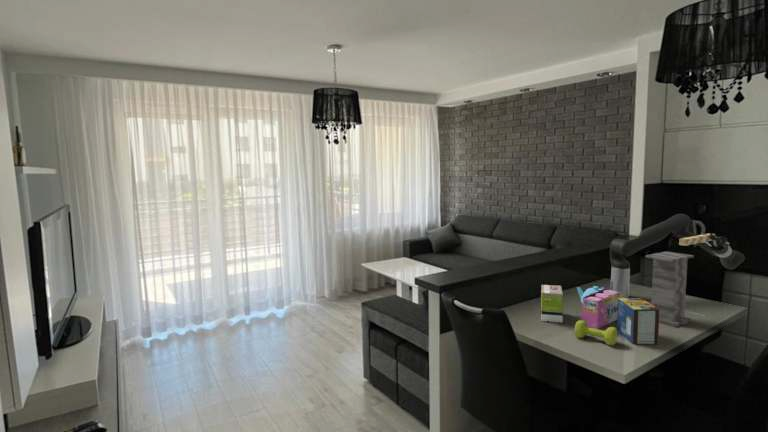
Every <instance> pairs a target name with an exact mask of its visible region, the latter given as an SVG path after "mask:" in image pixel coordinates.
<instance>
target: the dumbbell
mask: <svg viewBox="0 0 768 432" xmlns="http://www.w3.org/2000/svg"><path fill="white" fill-rule="evenodd" d="M573 330H574V335H575V337H576V338H578V339H583V338H585V337H586V335H589V336H593V337H597V338H602V339H604V341H605V343H606V345H608V346H612V347H613V346H615V345H616V344H617V342H618V336H619V332H618V331H617V327H614V326H610V327H607V328H606V329H605V330H601V329H596V328H592V327H588V326H587V324H586V322H585V321H582V319H579V320H577V321H576V322H575V325H574V329H573Z"/></svg>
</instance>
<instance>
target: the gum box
mask: <svg viewBox="0 0 768 432" xmlns="http://www.w3.org/2000/svg"><path fill="white" fill-rule="evenodd" d="M618 298H620V291H618V293H617V292H615V291H611V290H610V288H604V289H602V290H600V291H598V292H595V293H593V294H590V295H588V296H585V297H583V304H582V306H581V307H582V308H581V309H582V311H581V313H582V315H581V320H582V321H585V322H586V324H587V327H589V328H594V329H598V330H600V328H603V327H605V326H606V325H609V324H611V323H613V322H615V321H617V313H618Z"/></svg>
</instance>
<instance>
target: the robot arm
mask: <svg viewBox="0 0 768 432" xmlns="http://www.w3.org/2000/svg"><path fill="white" fill-rule="evenodd" d="M691 222H692V221H691V217H690V216H689V215H687V214H684V213H676V214H674V215H673V216H671V217H669V218H667V219H666V220H663V221H662V222H658V223H656V224H654V225H652V226H649V227H647V228H644V229H642V230H641V232H640V233H639V235H637V237H635V238H633V239H629V240H628V239H622V238H614V239H613V240H612V241H611V242H610V246H609V259H610V264H611V270H610V271H611V273H610V285H609V286H610V288H609V290H611V291H615V292H617V293H618V291H620V298H629V297H630V280H631V279H630V277H631V276H630V275H631V263H630V262H629V261H628V260H627V259H626V257H630V256H632V255H634V254H636V253H637V252H639V251H640V250H643V249H645V248H647V247H649V246H651V245H654V244H656V243H658V242H661V241H662V240H664V239H665V238H666V237H668V235H670V234H671V233H673V234H674V235H676V236H679V237H680V238H686V237H692V236H697V235H698V234H695V233H693V232H691V231H689V230H688V227H689V226H690V224H691ZM703 234H706V233H705V232H701V233H700V235H703ZM709 234H710V235H709V238H710V239H711V240H712V241H707V242H702V243H697V244H695V245H697V246H699V247H700V248H702V249H703V250H705V251H706V252H708V254H709V253H710V254H711V255H712V256H714V257H719V260H720V261H719V262H720V263H721V265H722V266H723V268H725V269H727V270H736V268H737V267H739V265H741V264H742V263H743V262H745V259H746V257H745V255H744V254H743V253H742V252H739V251H737V250H735V249H732V248H731V246H730V241H729V240H727V239H725V238H723V237H721V236H720V237H719V236H716V235H715V236H714V235H713V234H714V233H709Z"/></svg>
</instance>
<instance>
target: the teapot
mask: <svg viewBox="0 0 768 432" xmlns="http://www.w3.org/2000/svg"><path fill="white" fill-rule="evenodd" d="M602 289H605V287H603V286H602V287H600V288H599V286H596V285H594V286H592V287H589V288H587V289H586V290H585V291H583V289H582V288H581V287H579V286H577V287H576V290H577V293H578V297H579V299H580V303H581V304H582V305H583V297H585V296H588V295H590V294H593V293H595V292H598V291H600V290H602Z"/></svg>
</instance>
